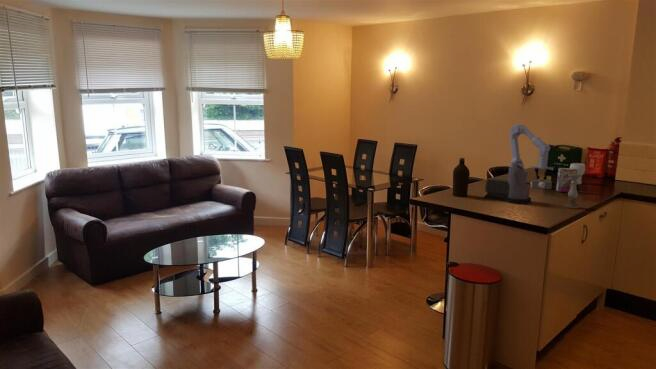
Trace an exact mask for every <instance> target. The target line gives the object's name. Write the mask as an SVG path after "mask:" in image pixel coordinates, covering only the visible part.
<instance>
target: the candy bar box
mask: <svg viewBox="0 0 656 369" xmlns="http://www.w3.org/2000/svg"><path fill="white" fill-rule="evenodd" d="M569 173H576V174H577V169H572V168H570V167H569V168H565V167H558V169H557V176H556V177H557V179H556V180H557V181H556V186H555V187H556V188H555V191H556V192H557V193H568V192H569V191H570V189H571V181H572V179H571V176H568V174H569Z"/></svg>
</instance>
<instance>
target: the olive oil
mask: <svg viewBox="0 0 656 369" xmlns="http://www.w3.org/2000/svg"><path fill="white" fill-rule="evenodd" d="M458 162H459V163H458V164H457V165H456V166H455V167H454V168H453V171H452V196H453V197H459V198H465V197H467V196H468V191H469V180H470V174H471V173H470V170H469V167H468V166H466V164H465V157H460V158H459V161H458Z"/></svg>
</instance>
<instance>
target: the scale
mask: <svg viewBox="0 0 656 369" xmlns="http://www.w3.org/2000/svg"><path fill="white" fill-rule="evenodd" d="M552 184H553V181H552V180H551V181H538V180H537V179H536V180H535V179H534V180H531V181H530V187H531V189H538V190H539V189H540V190H541V189H543V190H552Z"/></svg>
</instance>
